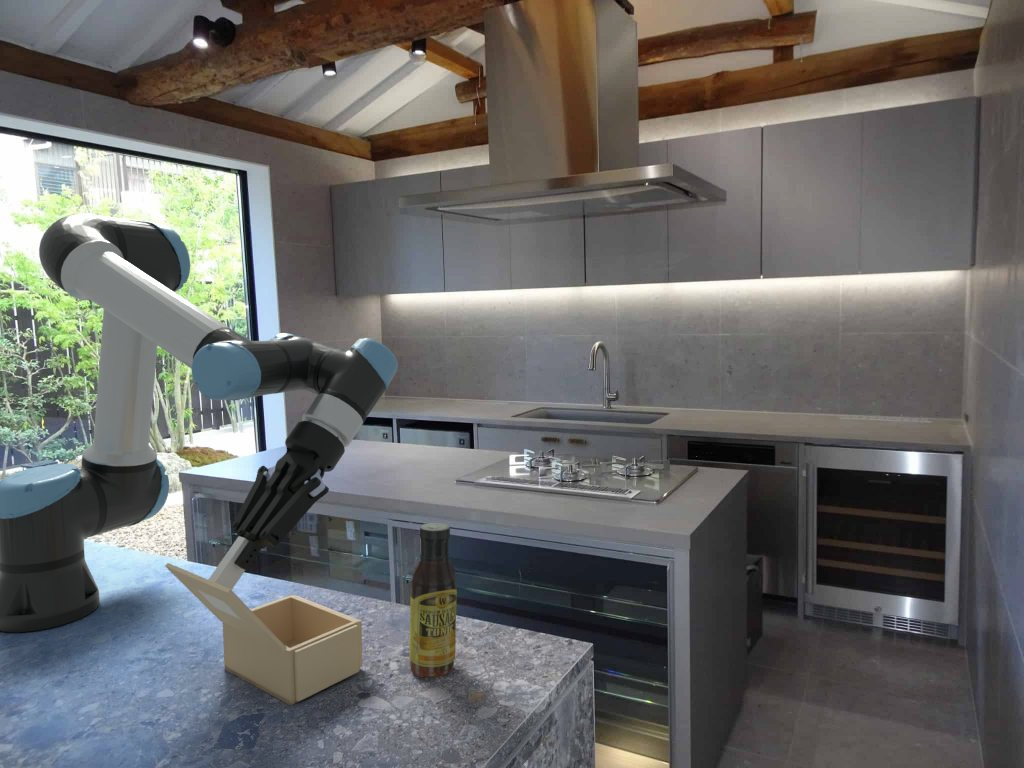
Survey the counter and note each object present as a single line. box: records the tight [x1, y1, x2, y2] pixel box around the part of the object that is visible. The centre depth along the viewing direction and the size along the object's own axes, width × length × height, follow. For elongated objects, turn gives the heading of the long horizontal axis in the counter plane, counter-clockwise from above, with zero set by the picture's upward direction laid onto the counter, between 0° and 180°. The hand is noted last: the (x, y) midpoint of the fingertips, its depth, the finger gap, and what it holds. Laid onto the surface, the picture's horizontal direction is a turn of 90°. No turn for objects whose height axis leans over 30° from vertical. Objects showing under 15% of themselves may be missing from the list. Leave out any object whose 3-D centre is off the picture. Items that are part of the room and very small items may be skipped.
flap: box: [164, 562, 287, 651], centre depth 90 cm, size 14×1×12 cm
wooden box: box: [222, 594, 363, 707], centre depth 98 cm, size 16×12×7 cm
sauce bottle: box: [408, 522, 458, 679], centre depth 97 cm, size 7×6×20 cm
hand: (217, 588), depth 88 cm, fingers closed
